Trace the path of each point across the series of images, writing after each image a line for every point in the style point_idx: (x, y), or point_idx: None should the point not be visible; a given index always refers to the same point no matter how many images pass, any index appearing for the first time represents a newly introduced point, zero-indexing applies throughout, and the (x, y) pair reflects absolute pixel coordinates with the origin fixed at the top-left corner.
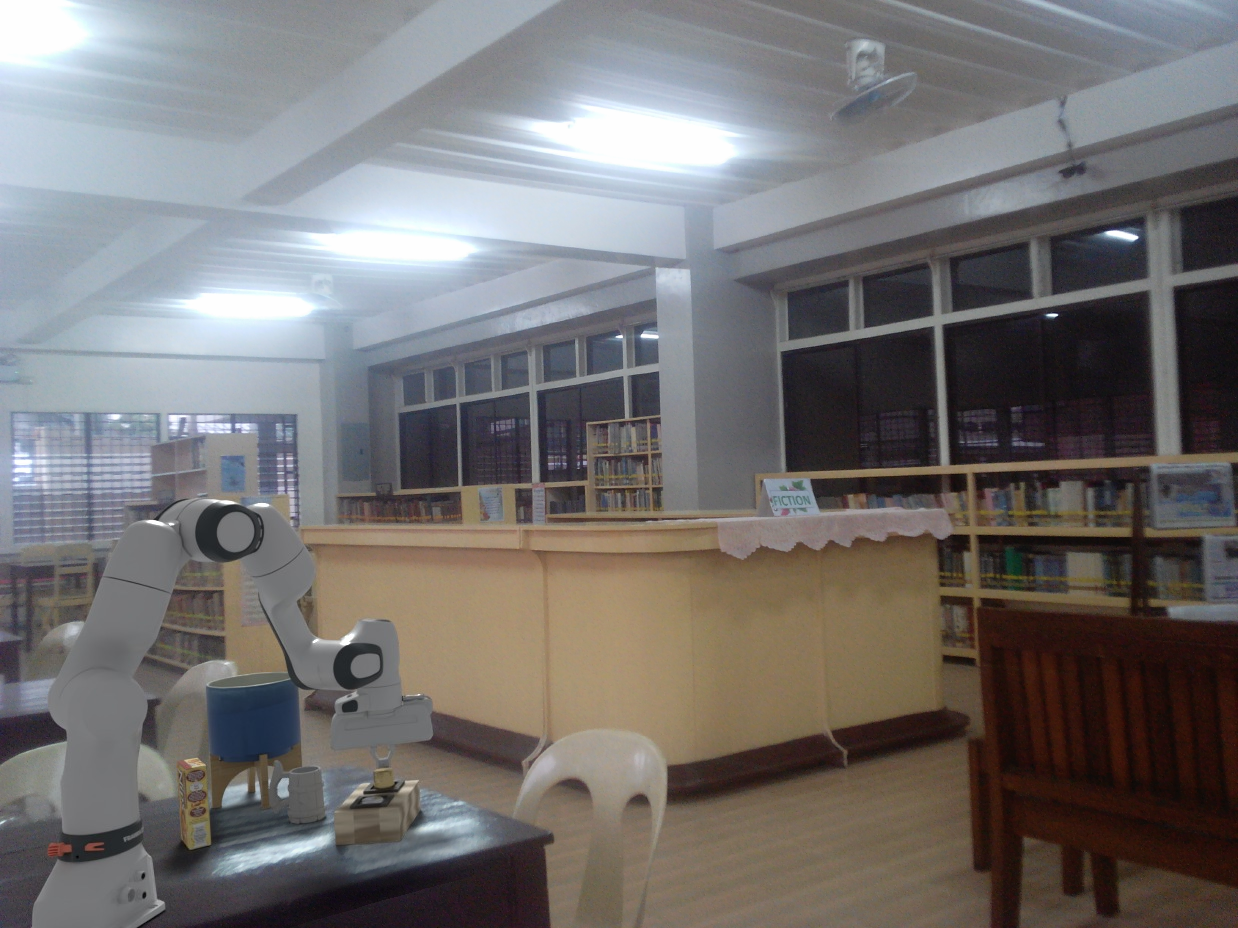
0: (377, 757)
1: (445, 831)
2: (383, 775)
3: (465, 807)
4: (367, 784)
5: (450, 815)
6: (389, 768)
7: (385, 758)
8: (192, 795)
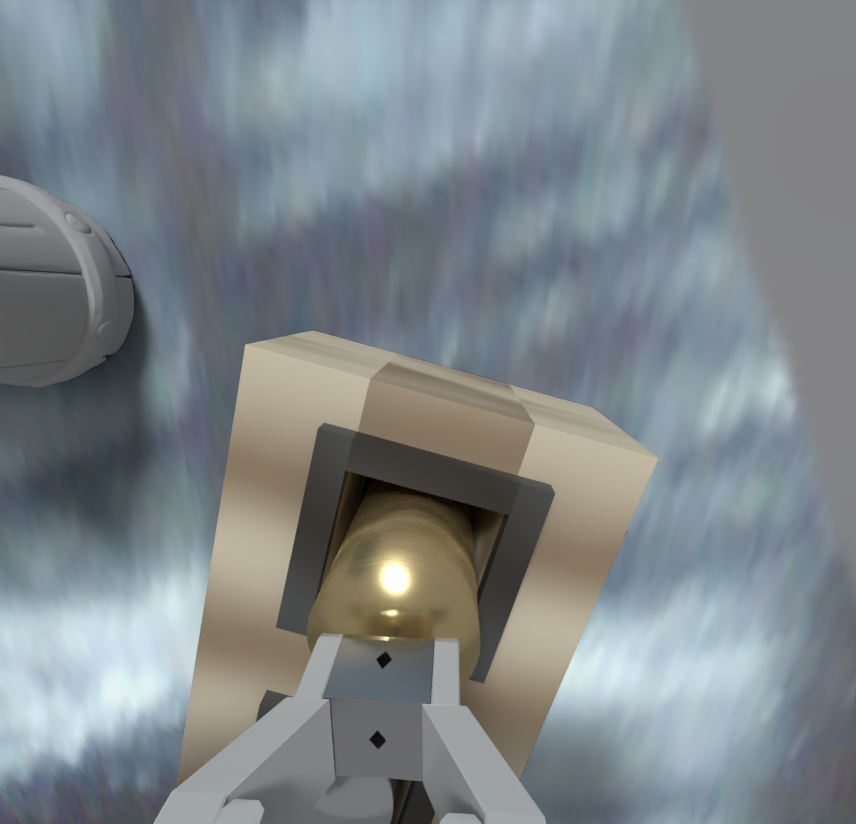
0: (310, 807)
1: (629, 737)
2: None
3: (799, 477)
4: (295, 393)
5: (698, 563)
6: (446, 604)
7: (403, 741)
8: None
